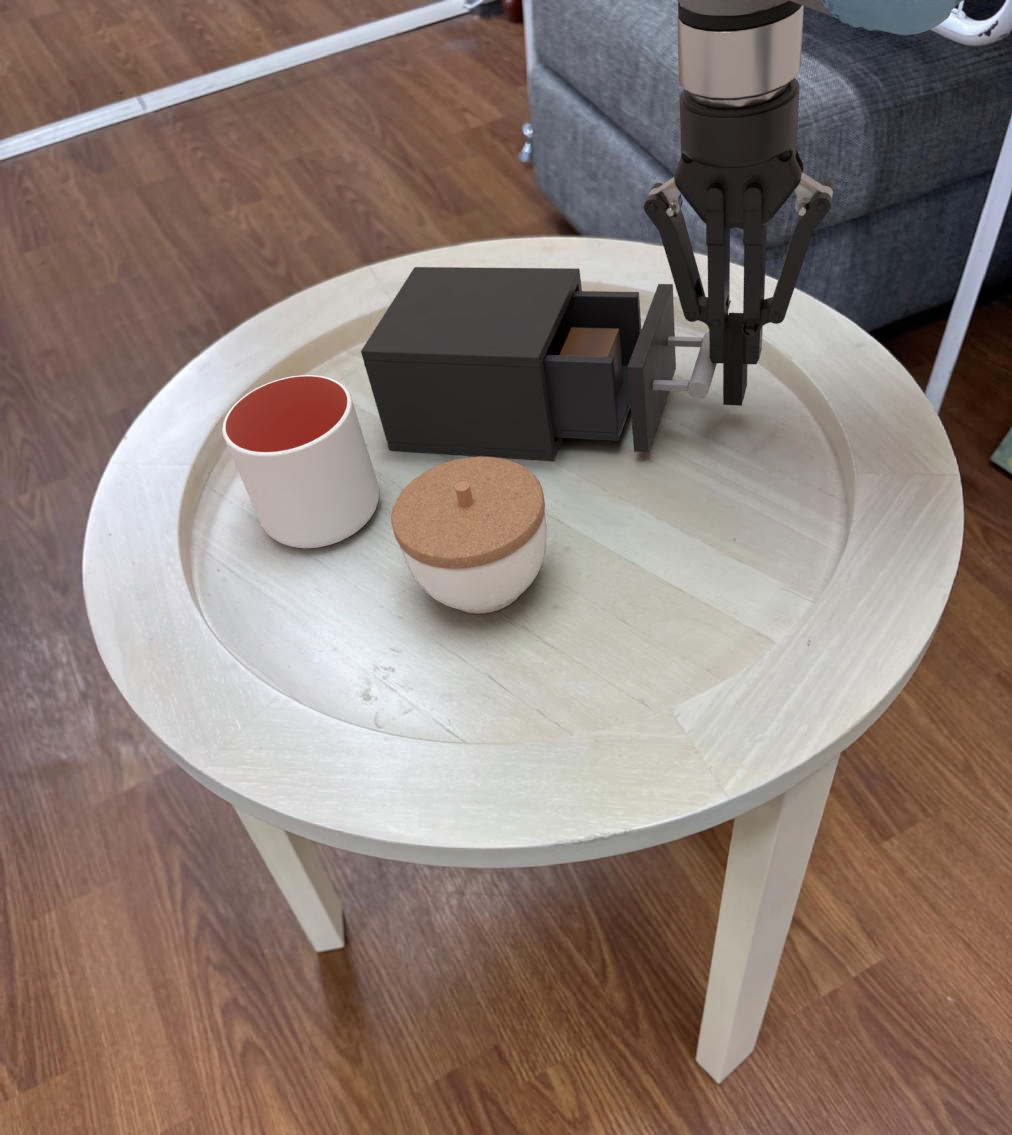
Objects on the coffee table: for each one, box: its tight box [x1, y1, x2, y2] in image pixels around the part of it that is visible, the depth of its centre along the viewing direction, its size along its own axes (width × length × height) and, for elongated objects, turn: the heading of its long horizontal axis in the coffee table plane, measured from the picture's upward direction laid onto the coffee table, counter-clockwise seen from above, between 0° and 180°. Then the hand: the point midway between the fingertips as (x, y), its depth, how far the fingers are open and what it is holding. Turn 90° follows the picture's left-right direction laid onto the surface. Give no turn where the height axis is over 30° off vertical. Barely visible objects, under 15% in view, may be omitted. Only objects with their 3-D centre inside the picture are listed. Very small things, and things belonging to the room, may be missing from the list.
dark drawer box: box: [360, 266, 583, 462], centre depth 90 cm, size 15×13×10 cm
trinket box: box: [390, 456, 548, 615], centre depth 76 cm, size 11×11×9 cm
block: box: [560, 327, 623, 397], centre depth 87 cm, size 4×4×5 cm
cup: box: [221, 374, 380, 549], centre depth 84 cm, size 10×10×10 cm
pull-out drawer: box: [543, 283, 718, 454], centre depth 87 cm, size 18×12×8 cm, turn 73°
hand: (735, 394), depth 85 cm, fingers closed
